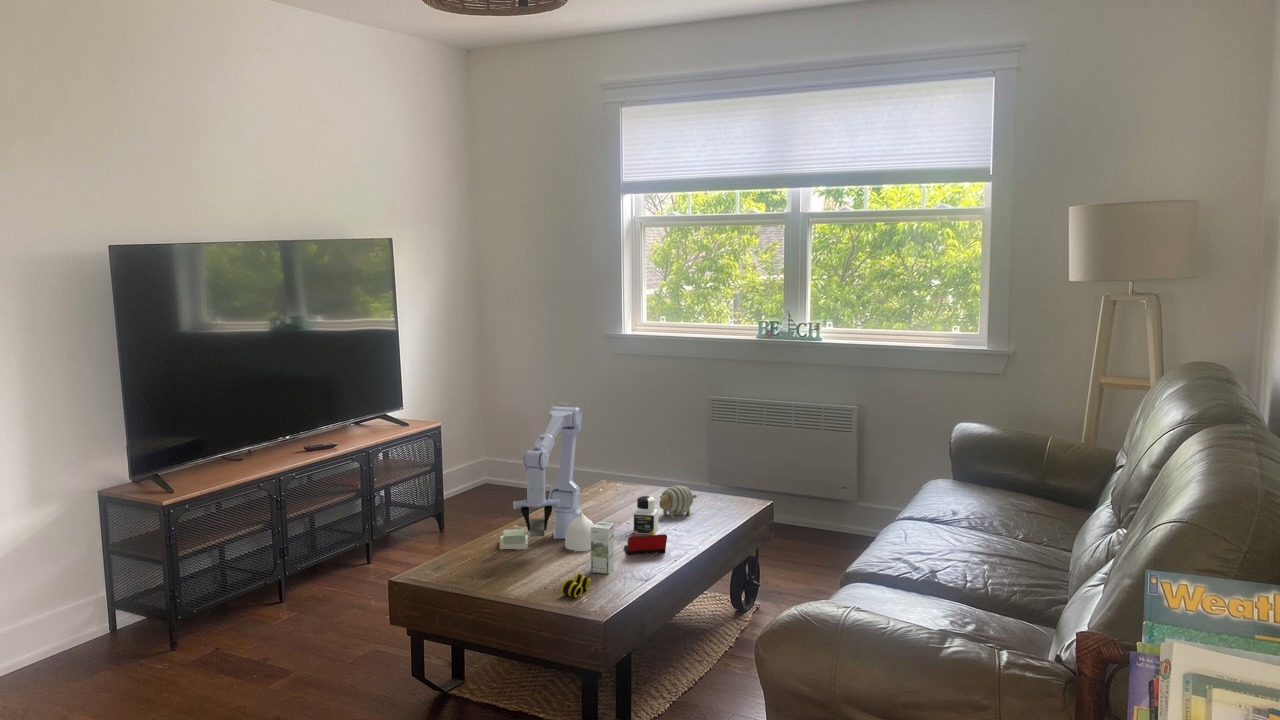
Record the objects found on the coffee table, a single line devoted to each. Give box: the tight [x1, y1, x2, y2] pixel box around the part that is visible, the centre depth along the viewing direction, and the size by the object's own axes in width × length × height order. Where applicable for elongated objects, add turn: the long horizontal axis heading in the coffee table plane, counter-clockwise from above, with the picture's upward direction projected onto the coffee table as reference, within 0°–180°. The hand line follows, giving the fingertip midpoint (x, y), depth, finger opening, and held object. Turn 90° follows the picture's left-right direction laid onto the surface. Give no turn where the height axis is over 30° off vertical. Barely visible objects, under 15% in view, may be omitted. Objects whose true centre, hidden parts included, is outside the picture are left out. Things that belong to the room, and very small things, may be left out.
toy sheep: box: [658, 485, 697, 519], centre depth 326 cm, size 11×17×11 cm, turn 133°
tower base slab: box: [499, 534, 529, 550], centre depth 294 cm, size 9×9×2 cm
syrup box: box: [590, 521, 615, 575], centre depth 269 cm, size 6×6×14 cm
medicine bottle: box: [633, 495, 659, 535], centre depth 308 cm, size 7×7×12 cm
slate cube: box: [529, 517, 545, 538], centre depth 283 cm, size 4×4×4 cm
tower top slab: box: [502, 528, 526, 544], centre depth 294 cm, size 7×7×2 cm
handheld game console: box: [623, 533, 668, 556], centre depth 287 cm, size 12×11×7 cm
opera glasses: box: [560, 571, 592, 599], centre depth 252 cm, size 10×5×5 cm, turn 157°
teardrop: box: [564, 510, 594, 552], centre depth 292 cm, size 11×11×12 cm
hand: (536, 529), depth 283 cm, fingers closed on slate cube, 4 cm apart
